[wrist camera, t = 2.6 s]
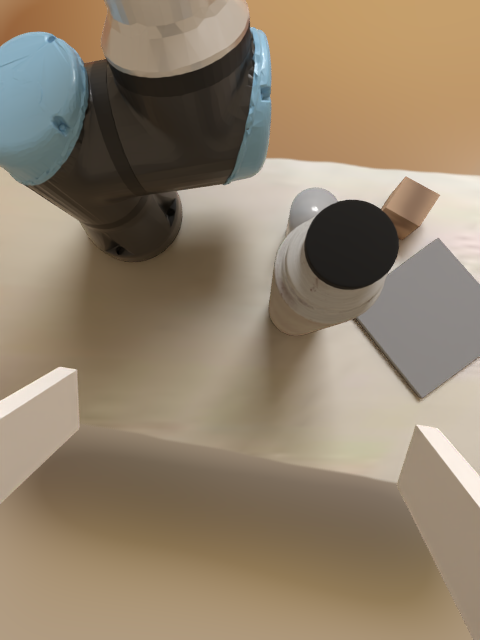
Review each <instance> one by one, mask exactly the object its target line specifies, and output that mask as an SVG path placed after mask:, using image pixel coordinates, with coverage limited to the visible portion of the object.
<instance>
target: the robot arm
mask: <svg viewBox="0 0 480 640" xmlns="http://www.w3.org/2000/svg"><path fill="white" fill-rule="evenodd" d="M104 1H105V4H106V6H107V17H106V21H105V24H104V28H103V32H102V38H101V47H102V49H103V52H104V55H105V58H106V59H104V60H99V61H94V62H89V63H83V61H82V59H81V58H80V56H79V54H78V53H77V52H76V51H75V50H74V49H73V48H72V47H70V46H69V45H68V44H67V43H66V42H65V41H63V40H62V39H59V38H58V39H57V38H56V37H55V36H54V35H53V34H49V33H46V32H29V33H25V34H22V35H19V36H17V37H14V38H13V39H11V40H9V41H7V42H6V43H4V44H3V45H2V46H1V47H0V166H1V167H2V168H4V169H5V170H6V171H7V172H9V173H10V175H11V176H12V177H13V178H14V179H15V180H16V181H18V182H19V183H21V184H23V185H25V186H27V187H28V188H30V189H31V190H33V191H34V192H36V193H37V194H39V195H40V196H42V197H44V198H45V199H47V200H48V201H50V202H51V203H53V204H54V205H56V206H57V207H59V208H60V209H62V210H63V211H65V212H66V213H68V214H69V215H71V216H72V217H74V218H76V219H77V220H79V222H80V223H81V225H82V227H83V228H84V230H85V232H86V233H87V235H88V236H89V238H90V239H91V241H92V242H93V243H94V244H95V245H96V246H97V247H98V248H99V249H101V250H102V251H103V252H105V253H107V254H108V255H110V256H112V257H114V258H116V259H119V260H122V261H128V262H138V261H144V260H147V259H150V258H153V257H155V256H157V255H158V254H160V253H161V252H163V251H164V250H165V249H166V248H167V247H168V246H169V245H170V244H171V243H172V242H173V240H174V239H175V237H176V235H177V233H178V231H179V228H180V225H181V221H182V205H181V200H180V197H179V195H178V193H177V191H179V190H186V189H193V188H199V187H206V186H213V185H220V184H223V185H226V184H229V183H231V182H232V181H236V180H241V179H245V178H250V177H252V176H254V175H256V174H257V173H258V172H259V171H260V170H261V168H262V167H263V164H264V162H265V159H266V155H267V149H268V143H269V135H270V123H271V99H270V94H271V61H270V51H269V45H268V41H267V37H266V35H265V33H264V32H262V31H261V30H257V29H256V28H254V27H253V28H251V27H250V21H249V20H250V18H249V9H248V5H247V3H246V1H245V0H104ZM79 428H80V423H79V399H78V374H77V369H71V368H65V367H58V368H56V369H55V370H53V371H51V372H49V373H48V374H46V375H44V376H42V377H41V378H39V379H37V380H35V381H34V382H32V383H30V384H29V385H27V386H25V387H23V388H22V389H20V390H18V391H16V392H15V393H13V394H11V395H9V396H8V397H6V398H4V399H3V400H1V401H0V504H1V503H2V502H3V501H4V500H5V499H6V498H7V497H8V496H9V495H10V494H11V493H12V492H13V491H14V490H15V489H16V488H18V487H19V485H21V484H22V483H23V482H24V481H25V480H26V479H27V478H28V477H29V476H30V475H31V474H32V473H33V472H34V471H35V470H37V469H38V468H39V467H40V466H41V465H42V464H43V463H44V462H45V461H46V460H47V459H48V458H49V457H50V456H51V455H52V454H53V453H54V452H55V451H56V450H58V448H60V446H62V445H63V444H64V443H65V442H66V441H67V440H68V439H69V438H70V437H71V436H72V435H73V434H74V433H75V432H76V431H77V430H79ZM397 487H398V489H399V491H400V493H401V495H402V497H403V499H404V501H405V503H406V505H407V507H408V509H409V511H410V513H411V515H412V517H413V519H414V521H415V523H416V525H417V527H418V529H419V531H420V533H421V535H422V538H423V539H424V541H425V544H426V546H427V547H428V550H429V552H430V554H431V556H432V558H433V559H434V562H435V564H436V566H437V568H438V570H439V572H440V574H441V576H442V578H443V580H444V582H445V583H446V586H447V588H448V590H449V592H450V594H451V596H452V598H453V600H454V602H455V604H456V606H457V608H458V610H459V612H460V614H461V616H462V618H463V620H464V622H465V624H466V626H467V628H468V630H469V632H470V634H471V636H472V638H473V640H480V476H479V475H478V474H477V472H476V471H475V470H474V469H473V468H472V467H471V466H470V464H469V463H468V462H467V461H466V460H465V459H464V458H463V456H462V455H461V454H460V453H459V452H458V451H457V450H456V448H455V447H454V446H453V445H452V444H451V443H450V441H449V440H448V439H447V438H446V437H445V436H444V435H443V433H442V432H441V431H440V430H439V429H438V428H434V427H428V426H421V425H416V426H415V429H414V432H413V436H412V439H411V442H410V445H409V448H408V451H407V454H406V458H405V461H404V464H403V467H402V470H401V473H400V476H399V480H398V483H397Z"/></svg>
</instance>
